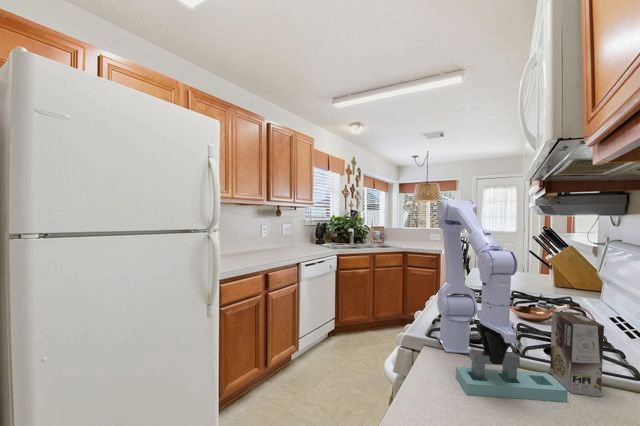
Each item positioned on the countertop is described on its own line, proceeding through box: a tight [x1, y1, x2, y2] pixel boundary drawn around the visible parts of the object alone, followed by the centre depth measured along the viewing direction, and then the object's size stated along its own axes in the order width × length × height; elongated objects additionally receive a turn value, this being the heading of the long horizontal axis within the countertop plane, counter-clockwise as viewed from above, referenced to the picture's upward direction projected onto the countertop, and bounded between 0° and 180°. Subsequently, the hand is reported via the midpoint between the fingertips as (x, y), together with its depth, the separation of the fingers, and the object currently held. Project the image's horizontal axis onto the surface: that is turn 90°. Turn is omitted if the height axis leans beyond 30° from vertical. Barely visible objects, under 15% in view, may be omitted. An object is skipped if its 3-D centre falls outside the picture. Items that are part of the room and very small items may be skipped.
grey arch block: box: [469, 349, 521, 379], centre depth 71 cm, size 2×10×5 cm, turn 85°
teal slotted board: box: [455, 366, 569, 403], centre depth 71 cm, size 21×7×2 cm, turn 85°
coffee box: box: [549, 310, 605, 397], centre depth 73 cm, size 9×6×16 cm
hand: (493, 360), depth 71 cm, fingers closed on grey arch block, 2 cm apart
